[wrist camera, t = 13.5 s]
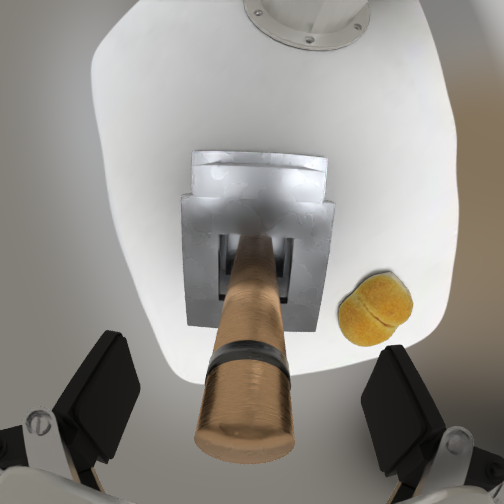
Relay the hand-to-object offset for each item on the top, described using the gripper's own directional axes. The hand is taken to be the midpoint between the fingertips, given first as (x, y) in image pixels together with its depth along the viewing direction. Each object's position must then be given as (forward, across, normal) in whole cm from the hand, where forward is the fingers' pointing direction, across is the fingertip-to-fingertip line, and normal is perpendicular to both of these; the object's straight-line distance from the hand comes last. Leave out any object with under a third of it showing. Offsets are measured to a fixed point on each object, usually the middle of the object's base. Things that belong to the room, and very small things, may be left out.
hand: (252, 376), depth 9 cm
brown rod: (+17, 0, +1) cm, 17 cm away
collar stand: (+18, 0, +1) cm, 18 cm away
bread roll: (+19, -14, +8) cm, 25 cm away
